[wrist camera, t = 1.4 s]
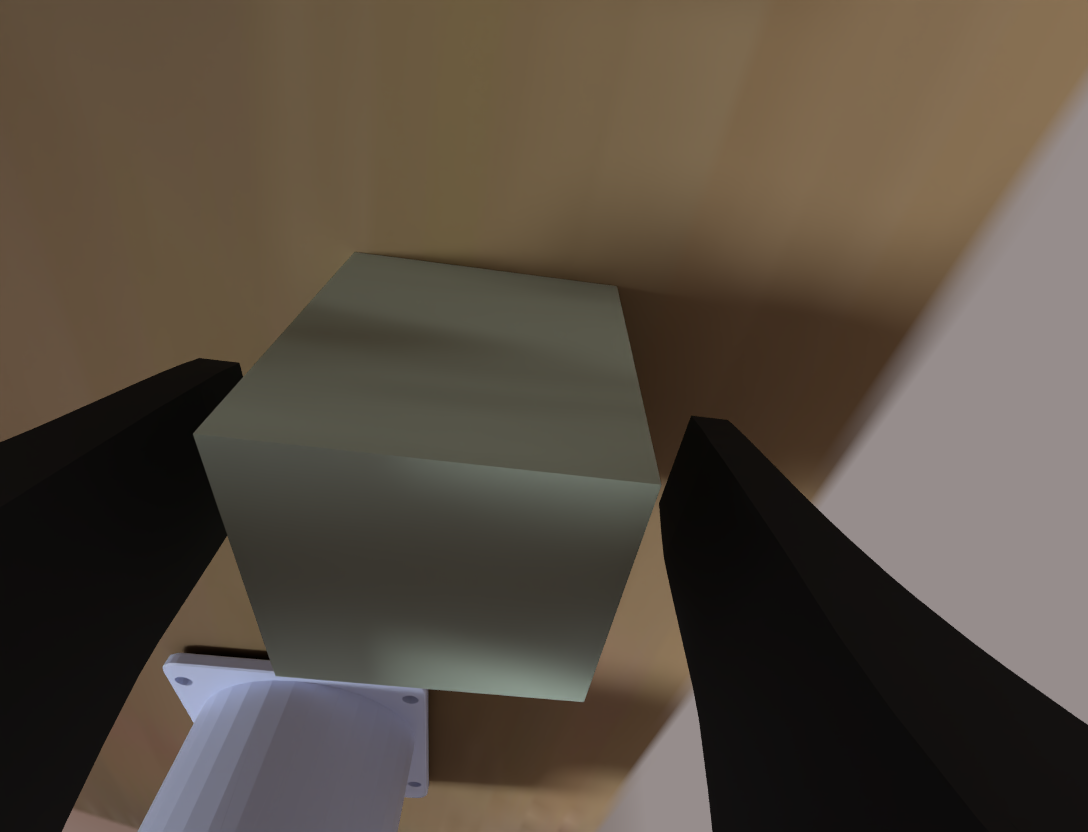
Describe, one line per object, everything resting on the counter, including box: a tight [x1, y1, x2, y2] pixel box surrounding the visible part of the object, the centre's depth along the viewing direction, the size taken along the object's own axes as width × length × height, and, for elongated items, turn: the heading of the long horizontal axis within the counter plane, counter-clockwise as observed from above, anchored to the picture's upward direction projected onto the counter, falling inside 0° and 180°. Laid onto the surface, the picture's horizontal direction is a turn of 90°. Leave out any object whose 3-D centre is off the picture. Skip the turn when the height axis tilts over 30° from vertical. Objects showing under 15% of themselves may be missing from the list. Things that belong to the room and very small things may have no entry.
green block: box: [193, 252, 661, 702], centre depth 8 cm, size 4×4×5 cm
